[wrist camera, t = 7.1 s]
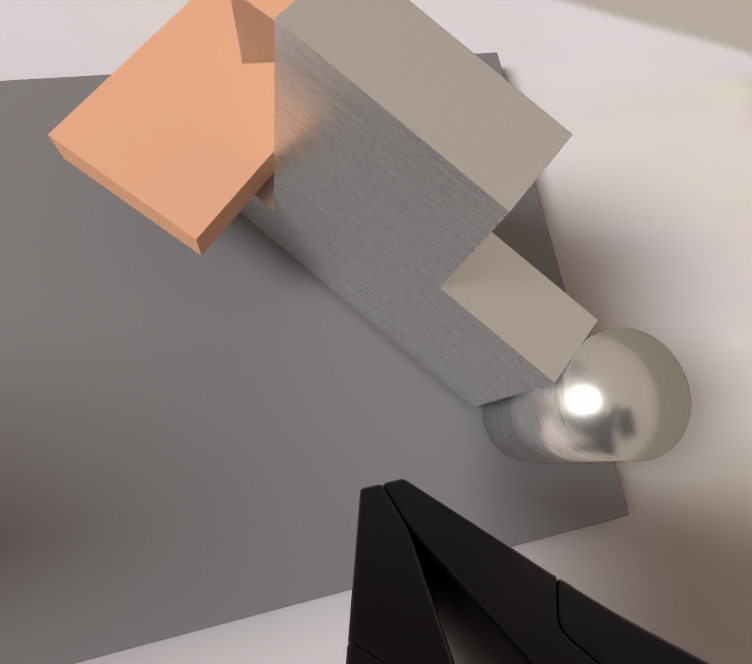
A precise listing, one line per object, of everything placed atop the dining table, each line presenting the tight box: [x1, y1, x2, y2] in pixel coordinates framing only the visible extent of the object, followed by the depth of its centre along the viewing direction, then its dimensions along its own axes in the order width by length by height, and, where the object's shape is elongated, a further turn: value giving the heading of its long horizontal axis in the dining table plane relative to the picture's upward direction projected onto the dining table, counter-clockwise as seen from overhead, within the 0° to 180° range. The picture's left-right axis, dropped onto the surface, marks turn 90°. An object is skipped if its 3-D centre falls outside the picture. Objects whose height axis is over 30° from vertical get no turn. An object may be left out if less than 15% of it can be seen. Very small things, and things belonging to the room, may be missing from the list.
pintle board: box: [0, 0, 629, 664], centre depth 15 cm, size 16×17×5 cm
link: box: [239, 0, 691, 463], centre depth 13 cm, size 3×15×8 cm, turn 52°
